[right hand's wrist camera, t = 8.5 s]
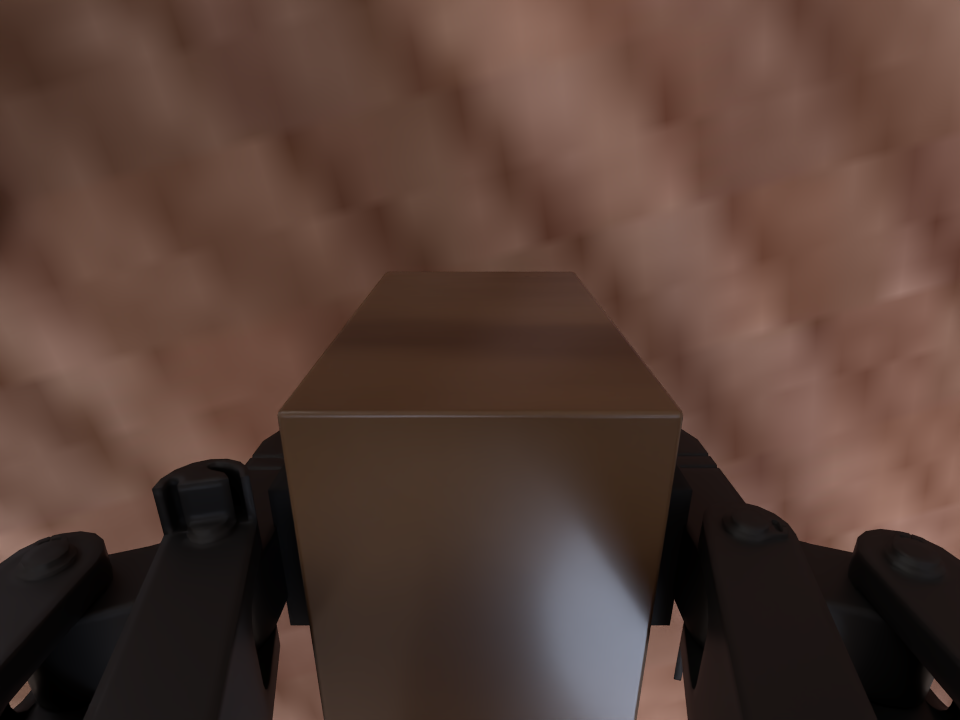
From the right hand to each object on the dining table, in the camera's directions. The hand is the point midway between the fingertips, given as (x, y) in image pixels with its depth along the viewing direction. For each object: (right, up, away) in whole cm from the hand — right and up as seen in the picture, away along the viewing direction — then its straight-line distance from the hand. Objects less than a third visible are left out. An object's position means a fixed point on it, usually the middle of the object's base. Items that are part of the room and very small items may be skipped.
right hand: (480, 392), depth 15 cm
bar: (0, -9, +4) cm, 10 cm away
